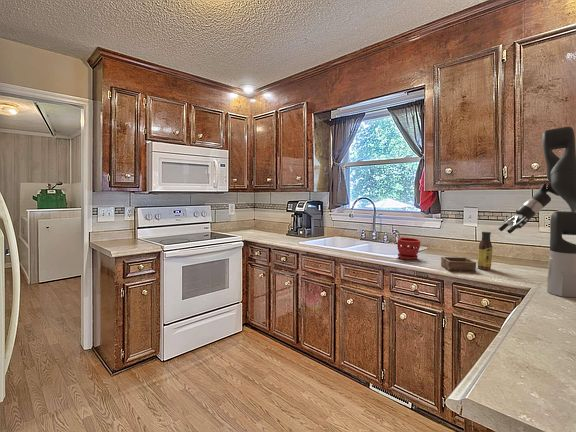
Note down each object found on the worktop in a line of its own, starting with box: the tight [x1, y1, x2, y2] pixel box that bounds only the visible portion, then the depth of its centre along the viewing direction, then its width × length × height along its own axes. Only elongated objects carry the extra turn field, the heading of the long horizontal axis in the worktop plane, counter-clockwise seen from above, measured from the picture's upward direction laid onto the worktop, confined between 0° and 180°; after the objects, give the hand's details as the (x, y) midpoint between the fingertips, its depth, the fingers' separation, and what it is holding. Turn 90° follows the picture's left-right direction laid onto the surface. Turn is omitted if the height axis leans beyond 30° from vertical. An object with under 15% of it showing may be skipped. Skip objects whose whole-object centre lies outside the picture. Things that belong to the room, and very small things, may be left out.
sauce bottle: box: [477, 230, 493, 271], centre depth 171 cm, size 7×6×20 cm
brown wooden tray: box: [440, 256, 477, 273], centre depth 172 cm, size 12×13×5 cm
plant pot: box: [396, 237, 421, 261], centre depth 198 cm, size 13×13×12 cm
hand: (503, 231), depth 169 cm, fingers open, 8 cm apart
